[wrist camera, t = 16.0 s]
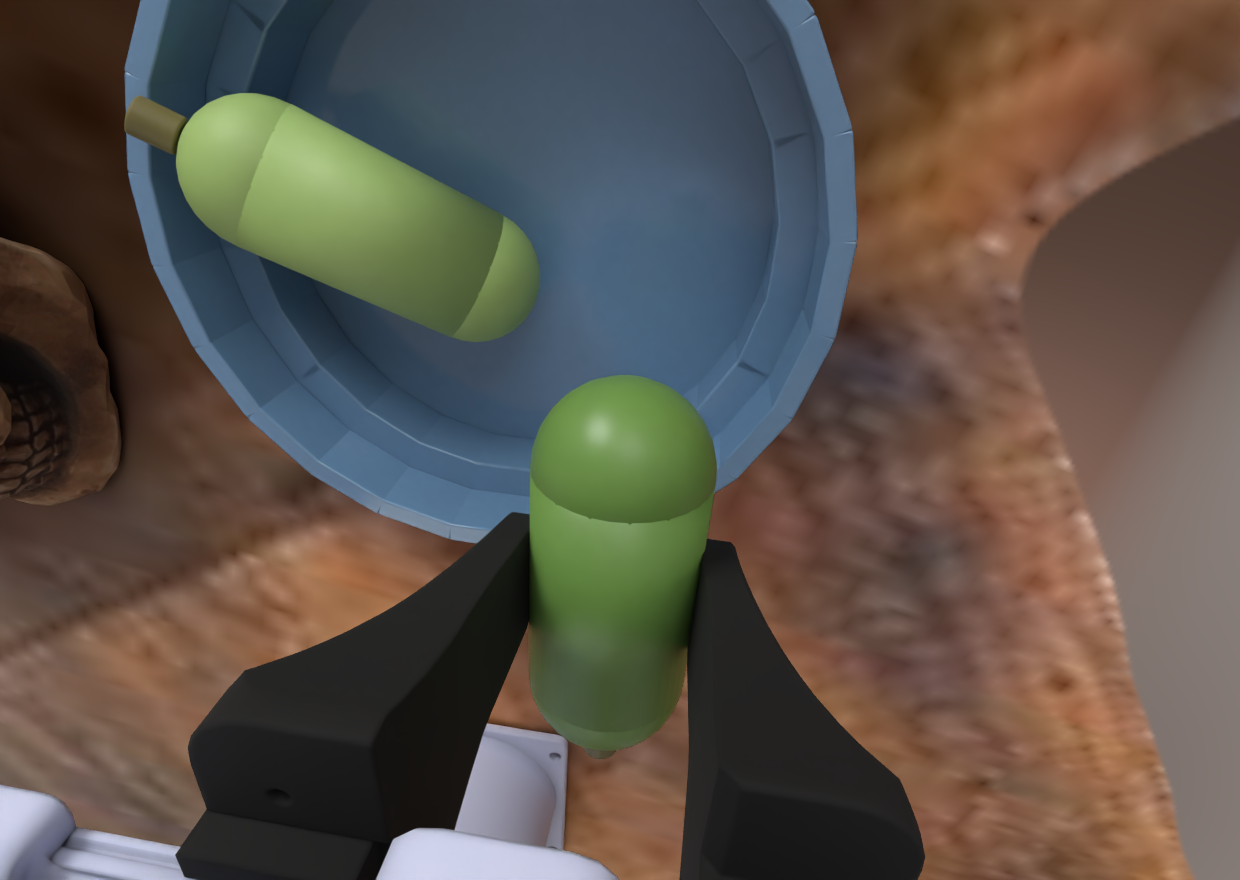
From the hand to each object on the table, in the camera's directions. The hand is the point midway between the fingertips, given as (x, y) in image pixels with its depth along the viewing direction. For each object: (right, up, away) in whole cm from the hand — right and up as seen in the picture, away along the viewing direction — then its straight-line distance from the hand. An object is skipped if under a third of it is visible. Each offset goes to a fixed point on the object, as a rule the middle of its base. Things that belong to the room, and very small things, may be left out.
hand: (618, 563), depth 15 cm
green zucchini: (0, +1, +1) cm, 1 cm away
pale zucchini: (-7, +9, +4) cm, 12 cm away
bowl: (-3, +9, +5) cm, 11 cm away
